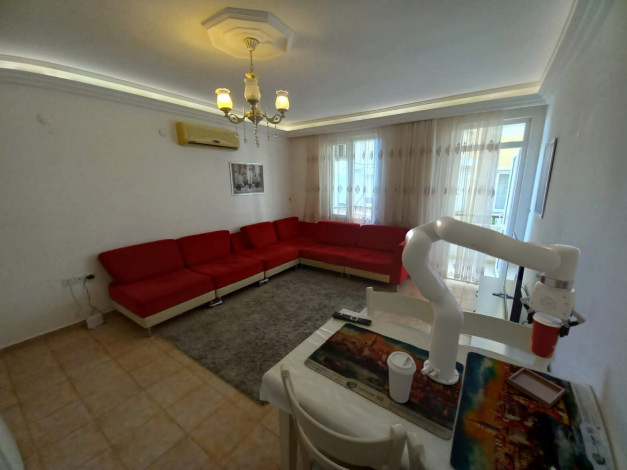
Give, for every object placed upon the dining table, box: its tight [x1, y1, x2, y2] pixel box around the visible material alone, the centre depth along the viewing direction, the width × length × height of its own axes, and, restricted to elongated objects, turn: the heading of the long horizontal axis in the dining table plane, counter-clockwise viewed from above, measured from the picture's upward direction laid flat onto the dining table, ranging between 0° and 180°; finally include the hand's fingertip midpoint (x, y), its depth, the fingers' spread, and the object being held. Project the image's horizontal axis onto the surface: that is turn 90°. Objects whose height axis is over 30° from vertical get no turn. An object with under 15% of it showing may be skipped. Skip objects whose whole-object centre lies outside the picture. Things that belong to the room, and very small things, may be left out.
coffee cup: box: [386, 351, 417, 404], centre depth 84 cm, size 10×10×15 cm
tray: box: [506, 366, 566, 409], centre depth 88 cm, size 12×12×2 cm
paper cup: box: [529, 311, 563, 359], centre depth 82 cm, size 8×8×14 cm
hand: (545, 329), depth 82 cm, fingers closed on paper cup, 7 cm apart
